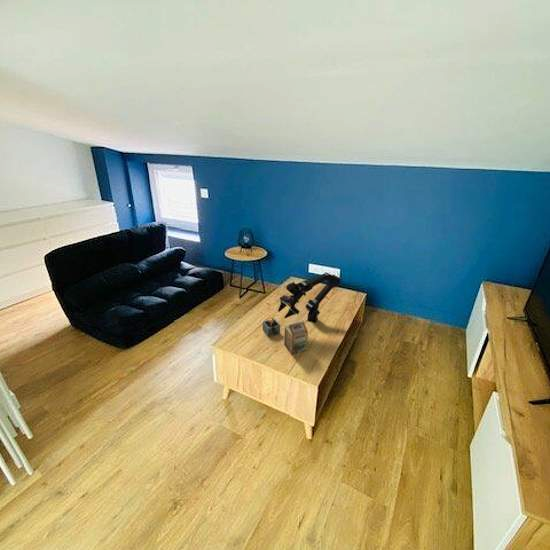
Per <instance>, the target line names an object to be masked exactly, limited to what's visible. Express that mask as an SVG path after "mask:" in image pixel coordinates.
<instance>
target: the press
mask: <svg viewBox="0 0 550 550" xmlns="http://www.w3.org/2000/svg"><path fill="white" fill-rule="evenodd" d="M273 319H274V323H273V324H272V327H271V324H269V319H267V320H264V321H262V330H263V332H264V333H265V335H266V336H267V337H271V336H274V335H279V334H281V324H280V323H279V321H277V320H276V319H275V318H273Z"/></svg>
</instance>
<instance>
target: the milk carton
mask: <svg viewBox="0 0 550 550" xmlns="http://www.w3.org/2000/svg"><path fill="white" fill-rule="evenodd" d="M283 335H284V337H283V338H284V339H283V341H284V342H283V343H284V344H283V346H284V347H285V349H286V350H287V351H288V352H289V354H290V355H292V356H293V355H296V354H300V353H303V352H306V351H307V350H308V335H309V332H308V328H307V326H306V324H305V321H304V320H301V321H297V322H292V323H289V324H288V325H286V326H284V334H283Z"/></svg>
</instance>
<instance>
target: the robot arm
mask: <svg viewBox="0 0 550 550" xmlns="http://www.w3.org/2000/svg"><path fill="white" fill-rule="evenodd" d="M326 281H327V282H326ZM323 282H326V284H325V285H324V286H323V288H322V289H321V290H320V291H319V292H318V294H317V295H316V296H315V297H314V298H313V299H309V300H308V301H307V302H306V304H305V309H306V310H307V311H308V313H307V322H311V323H317V321H318V319H319V317H318V316H319V315H320V314H321V311H320V310H319V307H320V304H321V302H322V301H323V300H324V299H325V298H326V297H327V295H328V294H329V293H330V292H331V291H332V289H333V288H337V287H338V285H340V284H341V282H342V281H341V278H340V277H338V276H337V275H336V274H331V273H329V272H327V271H326V272H324V273H322V274H320V275H317V276H315V277H314V278H312V279H306V280H302V281H300V282H298V283H295V281H292V282H291V283H288V284H287V285H286V289H285V290H286V291H288V292H289V293H290V295H289V296H288V295H285V294H283V295H282V296H281V297H280V298H279V301H280V302H279V303H280V304H279V307H278V309H277V312H281V311H283V309H285V307H287V306H288V307H289V308H288V312H287V313H286V314H285V316H284V317H283V318H284V319H287V318H289V317H291V316H296V315H299V314H300V310H299V309H298V308H296V304H297V303H300V300H301V298H302V297H303V296H305V297H306V295H307V294H306V293H307V292H310V291H311V290H313V288H314V287H315V286H317V285H319V284H321V283H323Z"/></svg>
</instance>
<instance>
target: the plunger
mask: <svg viewBox="0 0 550 550" xmlns="http://www.w3.org/2000/svg"><path fill="white" fill-rule="evenodd" d="M274 319H275V318H273V317H269V318H268V320H269V324H271V327H272V324H273V323H274Z"/></svg>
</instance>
